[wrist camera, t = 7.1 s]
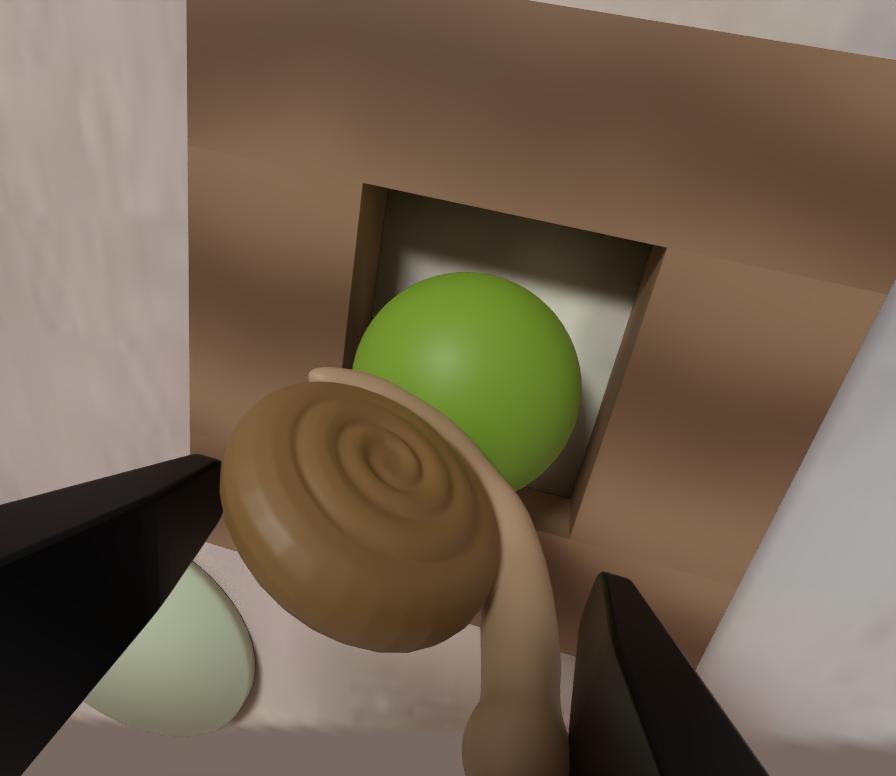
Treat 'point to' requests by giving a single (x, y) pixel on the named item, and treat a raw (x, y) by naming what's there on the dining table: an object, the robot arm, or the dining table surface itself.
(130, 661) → the felt coaster
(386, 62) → the frame
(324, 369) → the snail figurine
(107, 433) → the dining table surface
